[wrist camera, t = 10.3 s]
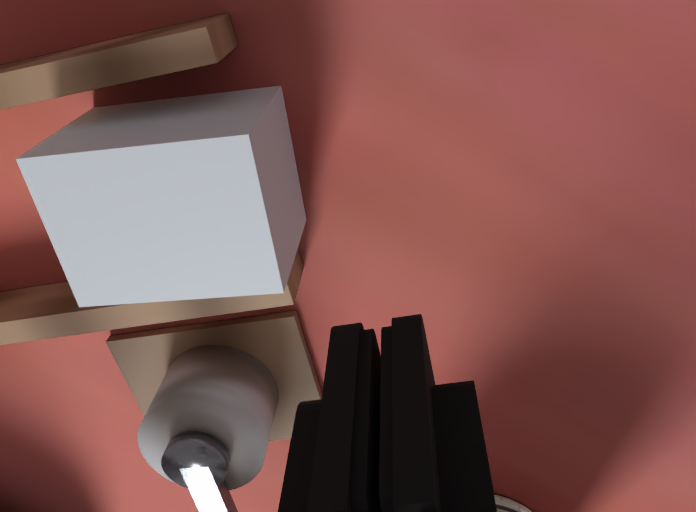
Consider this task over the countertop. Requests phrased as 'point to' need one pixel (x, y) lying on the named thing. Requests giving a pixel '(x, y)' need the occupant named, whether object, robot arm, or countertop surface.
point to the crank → (200, 469)
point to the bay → (93, 73)
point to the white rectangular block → (172, 198)
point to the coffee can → (509, 505)
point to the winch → (219, 385)
